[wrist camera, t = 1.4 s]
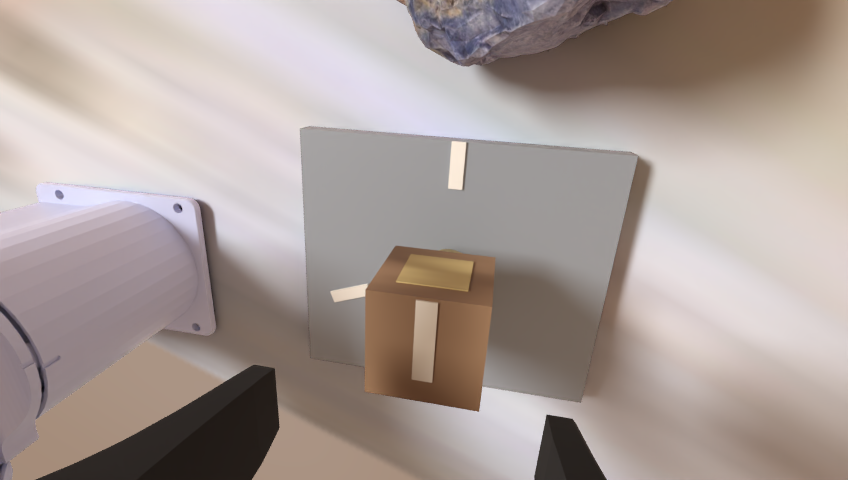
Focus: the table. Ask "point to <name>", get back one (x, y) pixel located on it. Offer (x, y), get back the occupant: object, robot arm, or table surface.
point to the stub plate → (468, 240)
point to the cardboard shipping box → (429, 326)
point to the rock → (511, 24)
